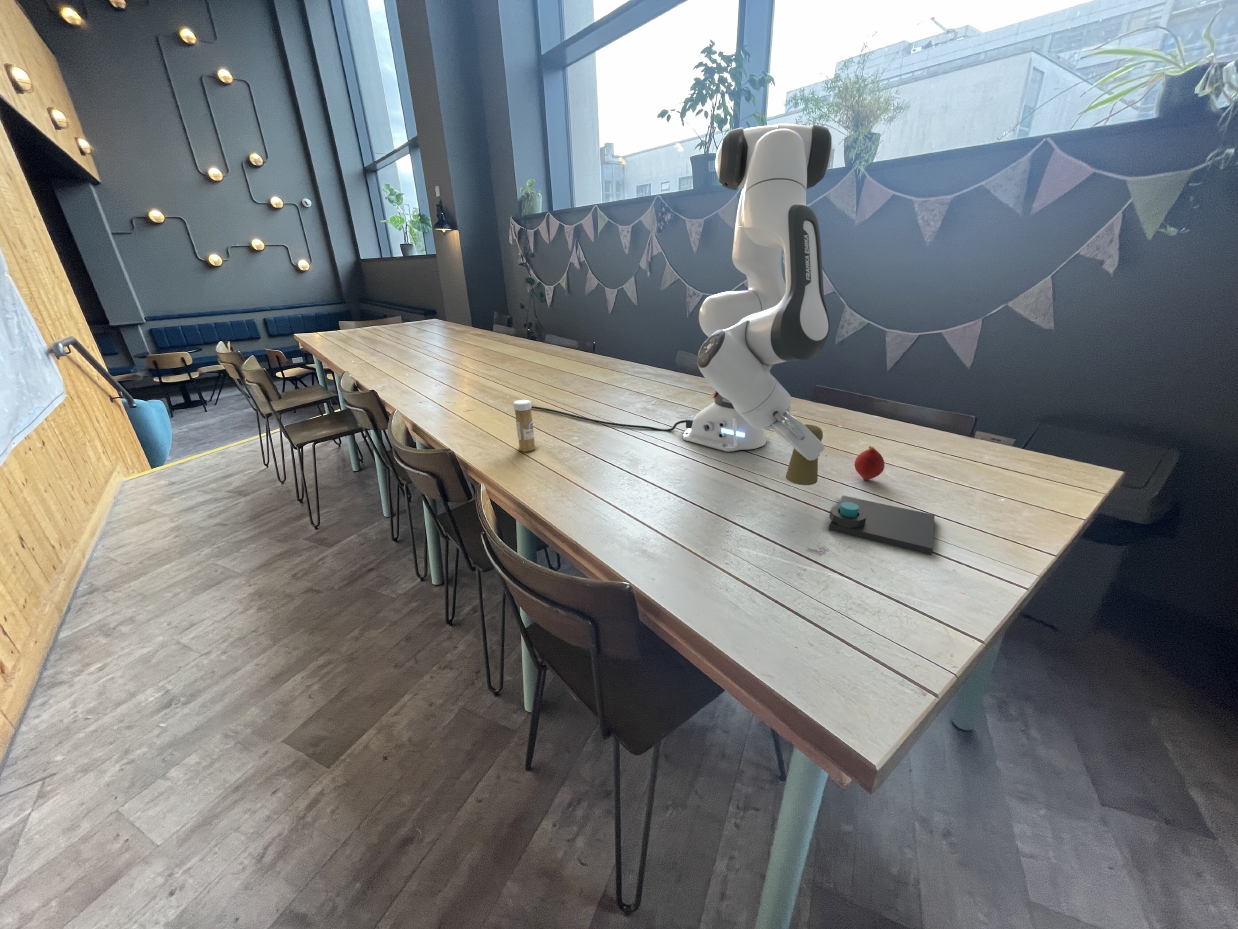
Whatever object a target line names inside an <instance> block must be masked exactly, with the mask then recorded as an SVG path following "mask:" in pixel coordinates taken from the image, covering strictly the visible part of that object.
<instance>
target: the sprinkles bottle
mask: <svg viewBox="0 0 1238 929" xmlns="http://www.w3.org/2000/svg"><path fill="white" fill-rule="evenodd" d="M531 401H532V400H529V399H519V400H515V401H514V402H513V410H514V413H515V424H516V432H517V439H518V446H519V447H518V449H519V451H521V452H526V453H527V452H531V451H534V450H535V449H536V441H535V429H534V421H533V414H532V408H531V406H532V402H531Z"/></svg>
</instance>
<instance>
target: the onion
mask: <svg viewBox="0 0 1238 929" xmlns="http://www.w3.org/2000/svg"><path fill="white" fill-rule="evenodd" d="M853 465H854V469H855V471H856V473H857V474H858V475H859V476H860V477H861V478H862V479H863V480H864V481H869V480H872V479H875V478H876V477H879V475H881V474H882V473H883V472H884V470H885V460H884V458H883V456H882V454H881V453H880V452H879V451H878V450H877V449H875V447H874V446H873V445H868V449H866V450H864V451H862V452H860V453H859V454H858V455H857V456H856V457H855V460H854V464H853Z"/></svg>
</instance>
